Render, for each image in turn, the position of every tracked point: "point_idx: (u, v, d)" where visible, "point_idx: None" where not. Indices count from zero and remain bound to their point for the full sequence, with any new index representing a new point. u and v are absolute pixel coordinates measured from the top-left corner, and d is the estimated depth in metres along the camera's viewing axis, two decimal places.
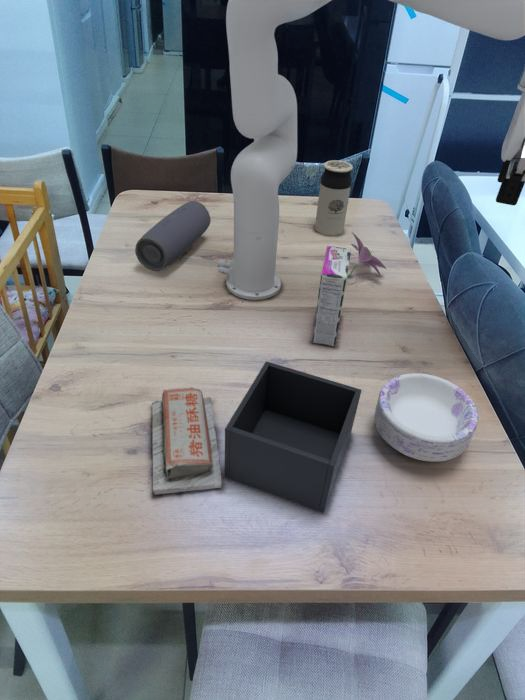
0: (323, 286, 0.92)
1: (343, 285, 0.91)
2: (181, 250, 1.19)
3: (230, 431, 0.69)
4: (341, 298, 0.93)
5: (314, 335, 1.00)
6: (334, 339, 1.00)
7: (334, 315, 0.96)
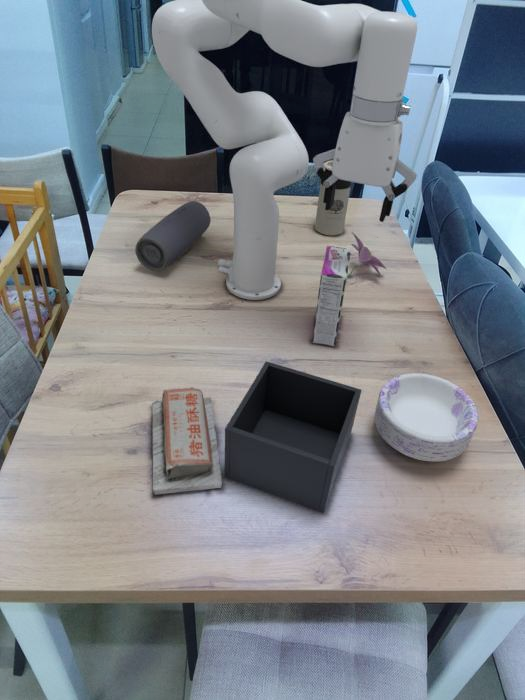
0: (323, 286, 0.92)
1: (343, 285, 0.91)
2: (181, 250, 1.19)
3: (230, 431, 0.69)
4: (341, 298, 0.93)
5: (314, 335, 1.00)
6: (334, 339, 1.00)
7: (334, 315, 0.96)
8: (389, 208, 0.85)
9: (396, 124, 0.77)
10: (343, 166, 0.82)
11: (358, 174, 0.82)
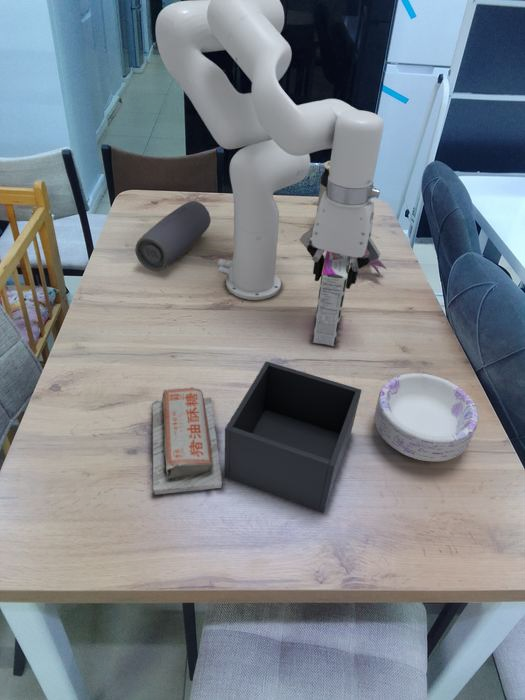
0: (324, 286, 0.92)
1: (343, 285, 0.91)
2: (181, 250, 1.19)
3: (230, 431, 0.69)
4: (341, 298, 0.93)
5: (314, 335, 1.00)
6: (334, 339, 1.00)
7: (334, 315, 0.96)
8: (354, 277, 0.95)
9: (367, 205, 0.85)
10: (321, 239, 0.91)
11: (335, 246, 0.91)
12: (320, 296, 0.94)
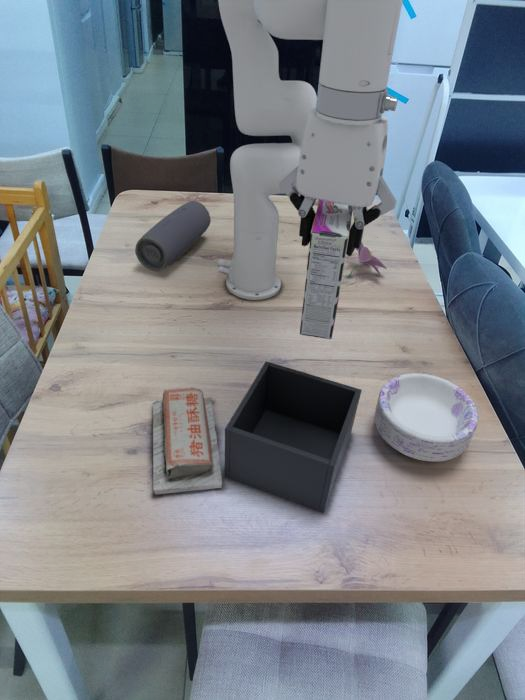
0: (314, 250, 0.63)
1: (343, 248, 0.62)
2: (181, 250, 1.19)
3: (230, 431, 0.69)
4: (340, 268, 0.64)
5: (302, 323, 0.71)
6: (330, 329, 0.70)
7: (330, 294, 0.67)
8: (358, 239, 0.66)
9: (378, 123, 0.56)
10: (310, 180, 0.62)
11: (330, 190, 0.62)
12: (309, 266, 0.65)
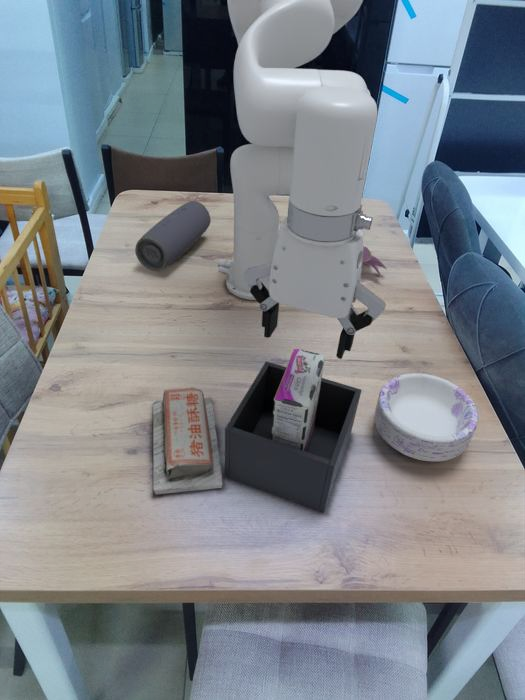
0: (278, 413, 0.67)
1: (304, 416, 0.65)
2: (181, 250, 1.19)
3: (230, 431, 0.69)
4: (303, 430, 0.67)
5: None
6: None
7: None
8: (349, 342, 0.61)
9: (352, 242, 0.53)
10: (282, 289, 0.59)
11: (303, 301, 0.59)
12: (274, 424, 0.68)
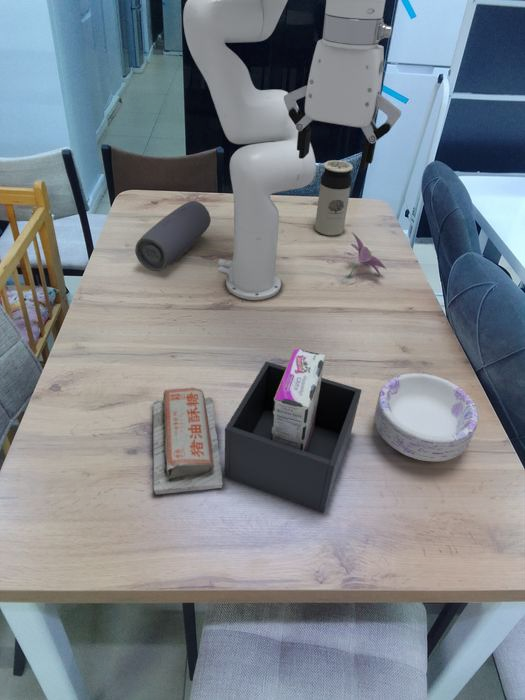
0: (278, 413, 0.67)
1: (304, 415, 0.65)
2: (181, 250, 1.19)
3: (230, 431, 0.69)
4: (303, 430, 0.67)
5: None
6: None
7: None
8: (370, 153, 0.75)
9: (375, 49, 0.66)
10: (317, 103, 0.72)
11: (334, 112, 0.72)
12: (274, 424, 0.68)
